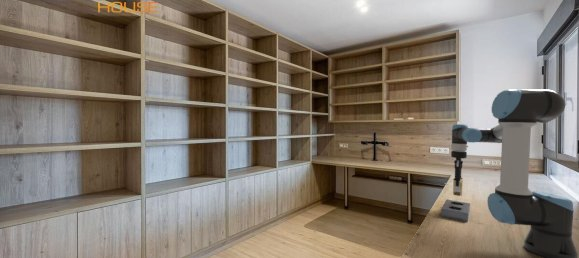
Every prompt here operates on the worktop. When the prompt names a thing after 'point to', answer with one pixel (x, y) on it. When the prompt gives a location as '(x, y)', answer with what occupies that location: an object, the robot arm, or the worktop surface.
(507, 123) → the robot arm
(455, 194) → the brass sleeve
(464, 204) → the block
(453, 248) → the worktop surface
